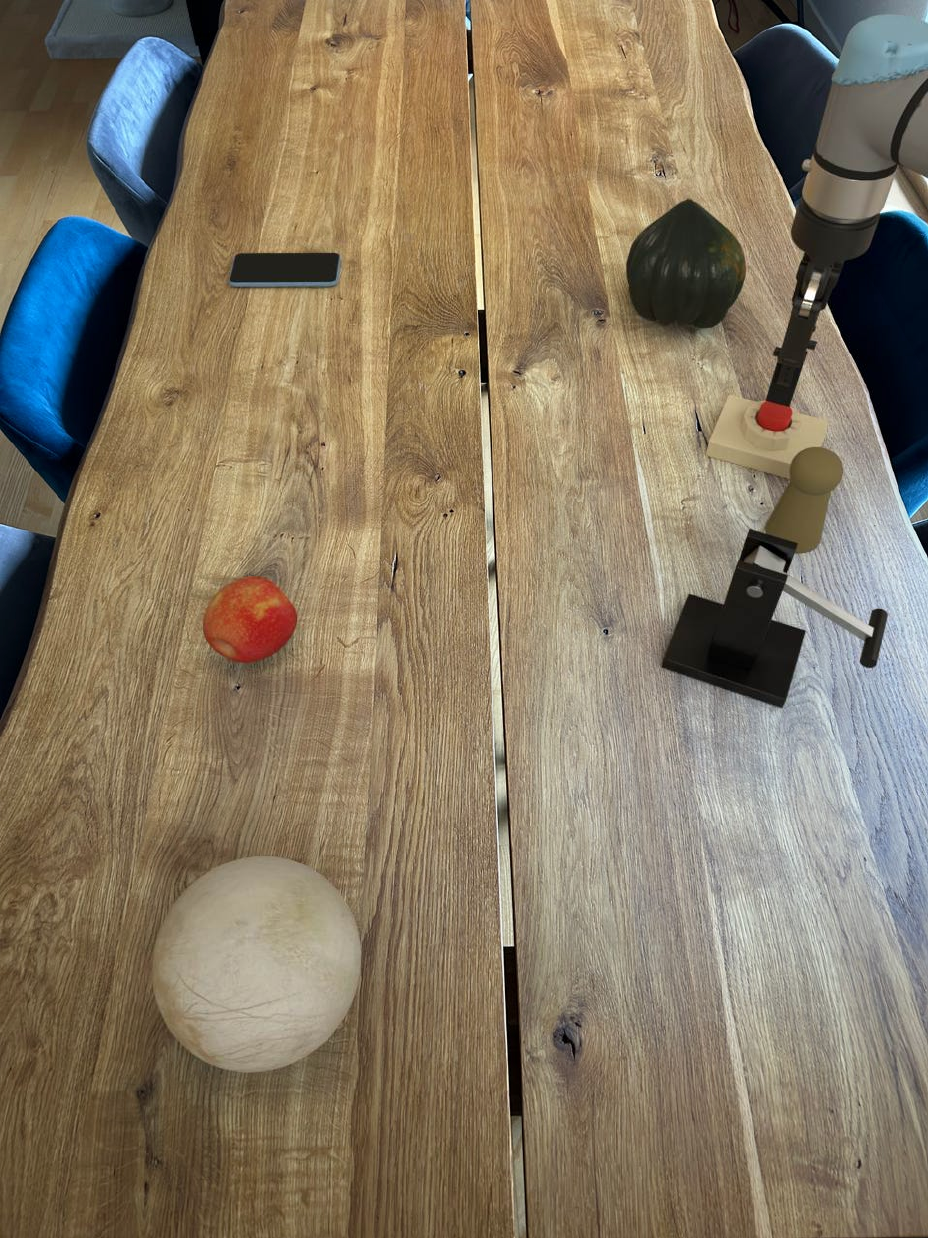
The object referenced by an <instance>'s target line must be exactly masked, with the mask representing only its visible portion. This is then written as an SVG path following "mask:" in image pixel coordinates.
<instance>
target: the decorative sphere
mask: <svg viewBox="0 0 928 1238" xmlns="http://www.w3.org/2000/svg"><path fill="white" fill-rule="evenodd" d="M358 929H359V928H358V925H357V922H356V918H355V916H354V914H353V912H352V910H351V908H350V906H349V905H348V903H347V902H346V900H345V899H344V897H343V896H342V894H341V892H340V891H339V890H338V889H337V888H336V887H335V886H334V885H333V884H332V883H331V882H330V880H328V879H327V878H326V877H324V876H323V875H322V874H321V873H320V872H318V871H316V870H315V869H313V868H311V867H309V866H307V864H304V863H301V862H298V861H296V860H292V859H289V858H287V857H280V856H275V855H274V856H273V855H253V856H247V857H241V858H237V859H234V860H231V861H228V862H225V863H223V864H220V865H218V866H216V867H214V868H212V869H210V870H208V871H207V872H206V873H204V874H203V875H201V876H200V877H199V878H197V879H196V880H195V881H194V882H192V883H191V884H190V885H189V886H187V887H186V888H185V889H184V891H183V892H182V893H181V894H180V896H178V898H177V899H176V900H175V901H174V903H173V904H172V906H171V907H170V909H169V911H168V912H167V913H166V915H165V917H164V920H163V922H162V924H161V927H160V928H159V931H158V934H157V937H156V940H155V943H154V949H153V954H152V955H153V956H152V961H151V973H152V974H151V976H152V977H151V978H152V986H153V992H154V997H155V1001H156V1005H157V1008H158V1010H159V1012H160V1014H161V1017H162V1019H163V1021H164V1023H165V1026H166V1027H167V1028H168V1030H169V1031H170V1033H171V1034H172V1035H173V1037H174V1038H175V1039H176V1041H178V1043H180V1044H181V1046H183V1048H184V1049H186V1050H187V1051H188V1052H190V1054H192V1055H193V1056H195V1057H197V1058H198V1059H200V1060H201V1061H203V1062H204V1063H207V1064H209V1065H210V1066H211V1065H212V1066H214V1067H217V1068H219V1069H222V1070H225V1071H232V1072H239V1073H265V1072H270V1071H274V1070H276V1069H277V1070H278V1069H281V1068H284V1067H286V1066H289V1065H292V1064H295V1063H296V1062H298V1061H300V1060H302V1059H303V1058H305V1057H307V1056H309V1055H310V1054H312V1053H313V1052H315V1051H317V1049H319V1047H321V1046H322V1045H323V1044H324V1043H325V1042H326V1041H327V1040H328V1039H330V1038H331V1036H333V1034H334V1032H336V1030H337V1029H338V1028H339V1026H340V1025H341V1023H342V1022H343V1020H344V1019H345V1017H346V1015H347V1014H348V1012H349V1010H350V1008H351V1006H352V1003H353V1001H354V998H355V996H356V993H357V989H358V986H359V982H360V976H361V971H362V953H363V952H362V951H363V950H362V945H361V938H360V933H359V930H358Z"/></svg>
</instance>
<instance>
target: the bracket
mask: <svg viewBox="0 0 928 1238" xmlns="http://www.w3.org/2000/svg"><path fill="white" fill-rule="evenodd" d="M759 546H762V547H764V548H765V549H767V550H769V551H770V552H772V553H773V554H775V555H777V556H778V557H780V558H781V559H783V560H785V561H786V563H785V566H784V569H783V572H785V573H786V574H783V573H780V572H777V571H774V570H770V569H767V568H764V567H761V566H757V565H754V564H751V563H747V562H744V560H745V558H746V557H747V556H749V555H750V554H751V553H752V552H753V551H754V550H755V549H756V548H758V547H759ZM797 546H798V543H796V542H793V541H789V540H786V539H783V538H779V537H776V536H773V535H769V534H766V532H762V531H759V530H756V529H752V528H749V529H748V531H747V534H746V537H745V540H744V544H743V546H742V549H741V552H740V556H739V558H738V560H737V562H736V565H735V568H734V571H733V573H732V577H731V580H730V583H729V586H728V590H727V592H726V596H725V599H724V602H723V603H721V602H718V601H715V600H711V599H708V598H705V597H702V596H699V595H696V594H693V593H688V594H687V597H686V599H685V601H684V604H683V607H682V610H681V612H680V615H679V617H678V620H677V623H676V625H675V628H674V630H673V633H672V636H671V638H670V641H669V643H668V646H667V649H666V651H665V652H664V656H663V658H662V663H661V666H660V667H661V668H662V669H665V670H668V671H670V672H673V673H676V674H679V675H683V676H685V677H688V678H690V679H693V680H697V681H701V682H702V683H706V684H709V685H711V686H714V687H718V688H720V689H724V690H727V691H730V692H733V693H736V694H738V695H741V696H744V697H747V698H750V699H753V700H755V701H759V702H762V703H764V704H767V705H771V706H773V707H776V708H779V709H783V708H784V706H785V703H786V701H787V699H788V695H789V692H790V688H791V685H792V681H793V678H794V674H795V670H796V668H797V664H798V661H799V657H800V654H801V651H802V646H803V644H804V640H805V636H806V632H807V630H806V629H804V628H799V627H796V626H793V625H790V624H787V623H783V622H781V621H777V620H774V619H773V617H774V616H775V615H774V614H775V612H776V610H777V607H778V604H779V602H780V599H781V596H782V594H783V592H784V591H783V589H784V586H785V584H786V581H787V578H788V575H789V574H788V573H789V570H790V567H791V564H792V562H793V560H794V557H795V554H796V553H795V552H796V549H797ZM787 574H788V575H787Z"/></svg>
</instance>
